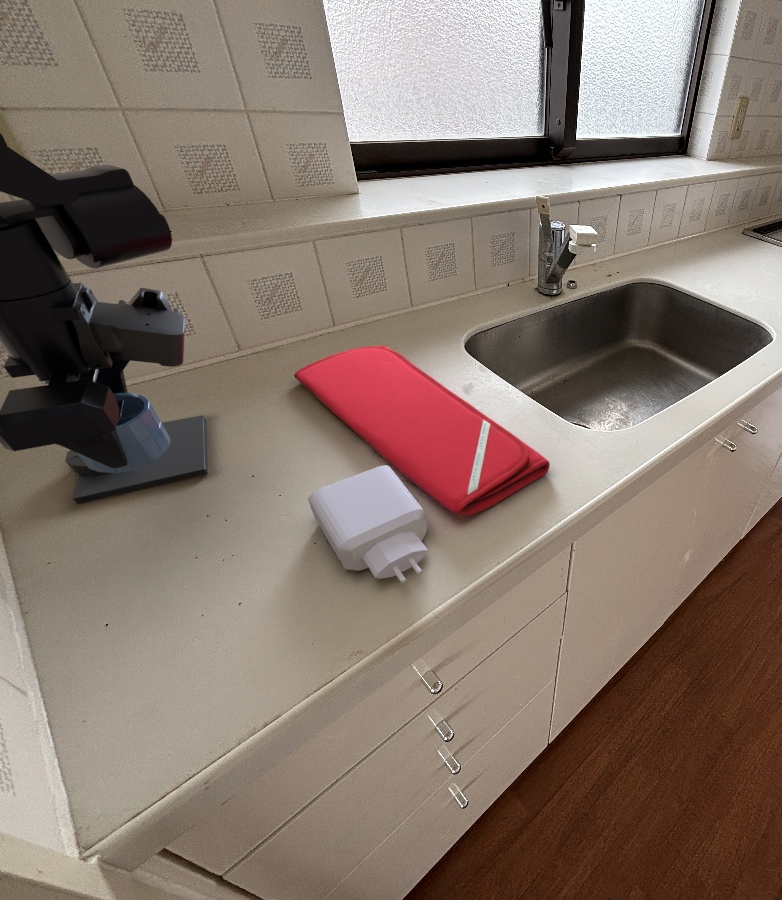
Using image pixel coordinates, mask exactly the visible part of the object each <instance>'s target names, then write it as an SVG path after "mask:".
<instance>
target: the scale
mask: <svg viewBox="0 0 782 900" xmlns="http://www.w3.org/2000/svg"><path fill="white" fill-rule="evenodd" d="M162 424H163V426H164V428H165V429H166V431H167V433H168V435H169V436H170V445H169V447H168V449H167V450H166V451H165V453H164V454H163V455H162V456H161V457H160V458H159V459H158V460H156V461H155V462H153V463H151V464H149V465H147V466H145V467H143V468H140V469H137V470H134V471H129V472H124V473H106V472H98V471H95V470H92V469H89V468H88V467H87V466H86V464H85V463H84V462H83V460H82V459H81V458H80V456H79V455H78V454H77V452H74V451H72V450H70V449H69V451H67V453H66V456H65V458H64V459H65V462H66V464H67V465H68V466H69V468H70V469H71V470H72V471H73V472H74V473H75V474H77V478H76V483H75V487H74V491H73V496H72V500H73V501H74V503H76V505H78V504H84V503H89V502H92V501H96V500H101V499H105V498H109V497H114V496H118V495H122V494H127V493H132V492H136V491H140V490H145V489H149V488H153V487H158V486H162V485H166V484H171V483H176V482H180V481H185V480H189V479H194V478H197V477H201V476H206V475H208V474H209V471H208V446H207V445H208V443H207V420H206V417H205V415H204V414H201V415H197V416H192V417H186V418H185V417H184V418H181V419H180V418H179V419H175V420H168V421H164V422H162Z"/></svg>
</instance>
